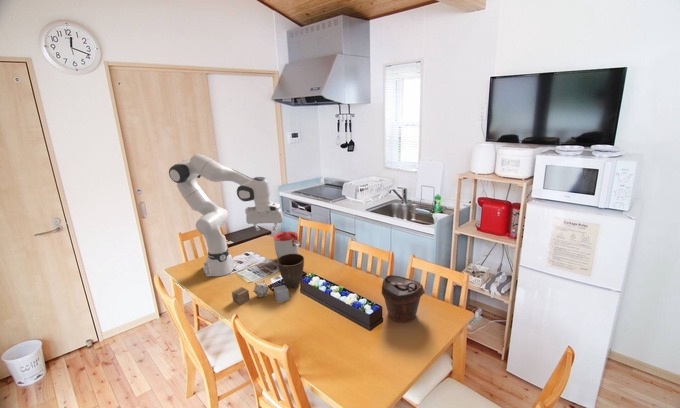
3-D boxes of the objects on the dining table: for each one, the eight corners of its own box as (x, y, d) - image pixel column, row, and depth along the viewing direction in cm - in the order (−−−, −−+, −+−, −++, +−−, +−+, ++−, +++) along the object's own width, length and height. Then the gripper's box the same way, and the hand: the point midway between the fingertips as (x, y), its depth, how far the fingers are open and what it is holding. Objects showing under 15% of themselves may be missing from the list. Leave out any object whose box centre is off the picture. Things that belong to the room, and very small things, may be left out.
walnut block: (233, 302, 174) (231, 291, 173) (242, 296, 179) (241, 286, 177) (240, 305, 171) (238, 295, 169) (249, 300, 175) (248, 290, 174)
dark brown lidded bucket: (430, 322, 150) (431, 287, 145) (388, 329, 147) (387, 293, 142) (415, 301, 167) (415, 269, 162) (377, 307, 164) (376, 274, 159)
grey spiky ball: (259, 303, 179) (246, 290, 176) (268, 290, 184) (255, 278, 182) (267, 300, 172) (253, 288, 170) (276, 288, 178) (263, 275, 176)
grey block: (274, 297, 176) (273, 287, 175) (285, 294, 179) (284, 284, 177) (278, 303, 171) (277, 292, 170) (289, 299, 174) (288, 289, 172)
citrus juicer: (293, 267, 209) (290, 237, 203) (271, 262, 216) (267, 234, 211) (306, 256, 222) (304, 228, 217) (284, 253, 230) (282, 226, 224)
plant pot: (311, 282, 189) (309, 257, 185) (293, 295, 178) (290, 268, 173) (292, 276, 198) (290, 251, 193) (274, 287, 186) (271, 261, 182)
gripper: (242, 209, 179) (246, 232, 183) (280, 207, 178) (283, 231, 182) (246, 205, 185) (249, 228, 189) (282, 204, 184) (285, 227, 188)
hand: (266, 230), depth 186 cm, fingers open, 8 cm apart
